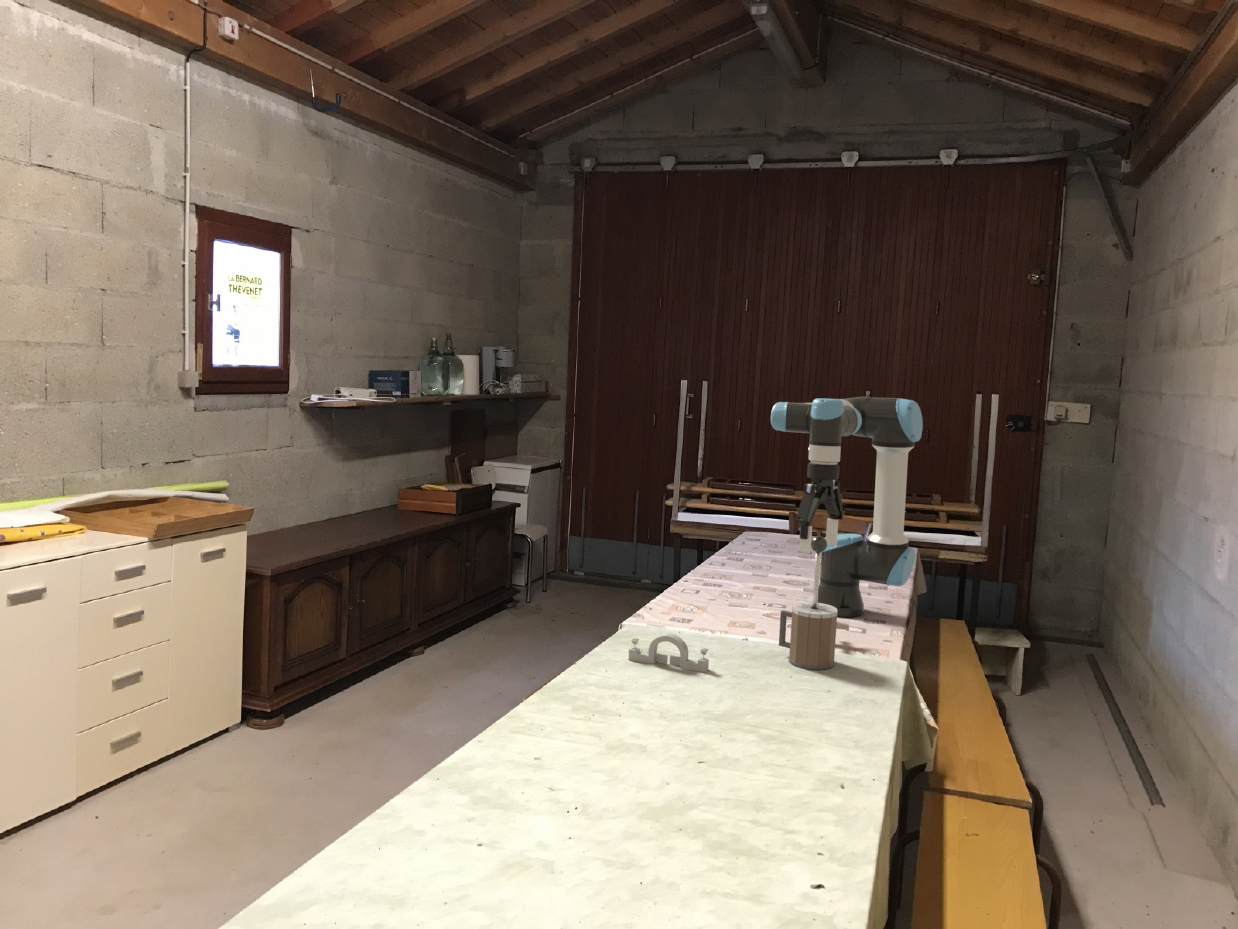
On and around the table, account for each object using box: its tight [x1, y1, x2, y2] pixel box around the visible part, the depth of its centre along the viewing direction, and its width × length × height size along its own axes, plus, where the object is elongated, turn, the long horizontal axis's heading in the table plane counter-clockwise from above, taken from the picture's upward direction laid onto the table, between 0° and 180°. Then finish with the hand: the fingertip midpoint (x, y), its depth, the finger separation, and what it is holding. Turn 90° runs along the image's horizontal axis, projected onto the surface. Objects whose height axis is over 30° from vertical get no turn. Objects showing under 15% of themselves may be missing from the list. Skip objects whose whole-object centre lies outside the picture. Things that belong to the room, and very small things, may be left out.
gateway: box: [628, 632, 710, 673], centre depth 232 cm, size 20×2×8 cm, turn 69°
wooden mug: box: [778, 601, 838, 671], centre depth 237 cm, size 11×14×14 cm
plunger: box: [811, 535, 827, 610], centre depth 235 cm, size 8×8×22 cm
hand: (818, 548), depth 233 cm, fingers open, 13 cm apart
